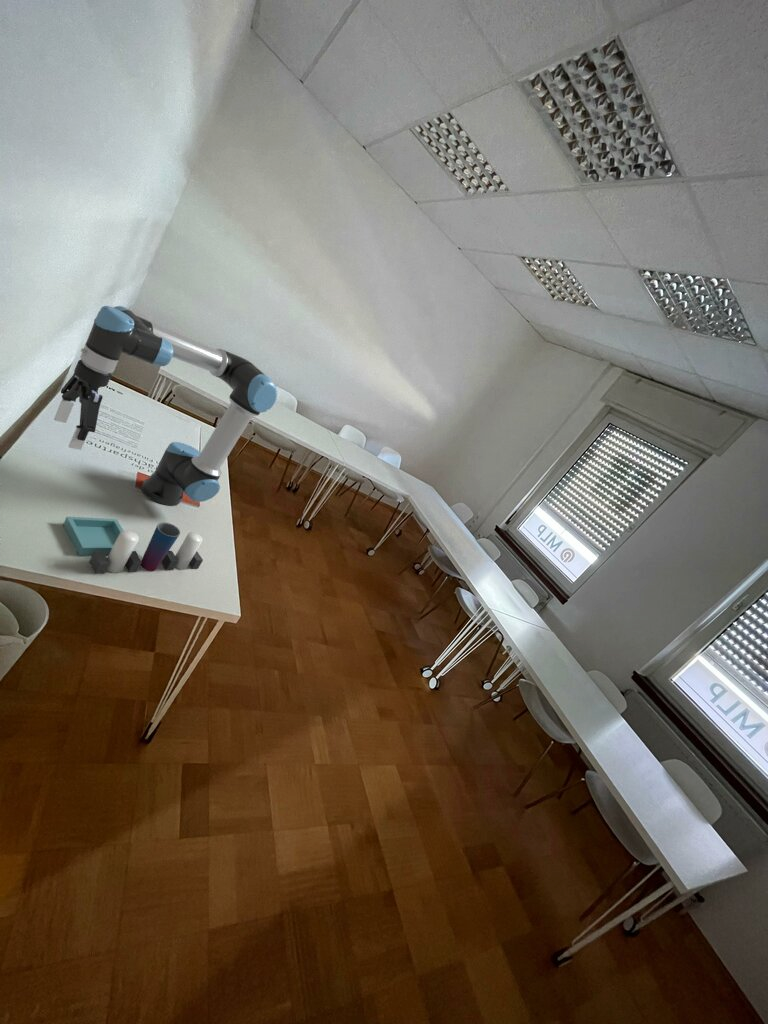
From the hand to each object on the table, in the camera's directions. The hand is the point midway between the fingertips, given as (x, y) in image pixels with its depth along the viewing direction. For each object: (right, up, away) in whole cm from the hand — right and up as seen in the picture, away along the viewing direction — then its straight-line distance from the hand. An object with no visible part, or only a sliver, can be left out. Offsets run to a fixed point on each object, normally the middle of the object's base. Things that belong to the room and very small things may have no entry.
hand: (67, 434), depth 115 cm
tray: (-1, -30, +13) cm, 33 cm away
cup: (+12, -38, +17) cm, 44 cm away
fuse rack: (+13, -38, +17) cm, 44 cm away
